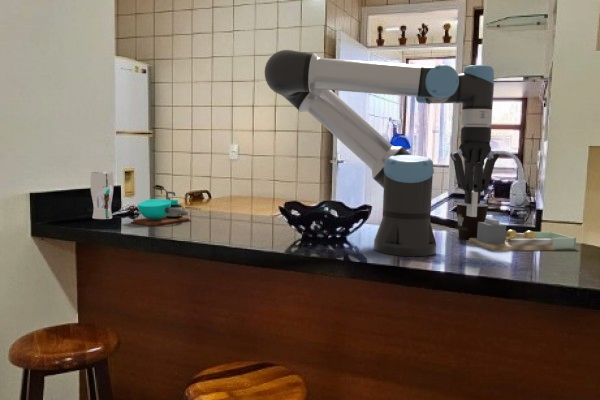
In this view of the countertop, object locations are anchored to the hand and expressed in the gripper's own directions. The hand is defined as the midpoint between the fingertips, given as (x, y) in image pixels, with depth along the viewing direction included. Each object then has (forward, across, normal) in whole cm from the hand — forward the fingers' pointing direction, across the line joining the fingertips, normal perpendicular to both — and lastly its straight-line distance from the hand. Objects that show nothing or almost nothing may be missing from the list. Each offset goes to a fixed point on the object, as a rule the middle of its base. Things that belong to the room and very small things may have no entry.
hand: (471, 216), depth 140 cm
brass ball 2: (+6, +17, -1) cm, 18 cm away
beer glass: (+7, -102, +51) cm, 114 cm away
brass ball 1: (+6, +13, +1) cm, 14 cm away
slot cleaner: (+7, +6, 0) cm, 9 cm away
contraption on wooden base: (+8, -82, +42) cm, 92 cm away
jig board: (+8, +12, 0) cm, 15 cm away
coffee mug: (+9, +7, +13) cm, 17 cm away
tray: (+9, +25, 0) cm, 26 cm away
